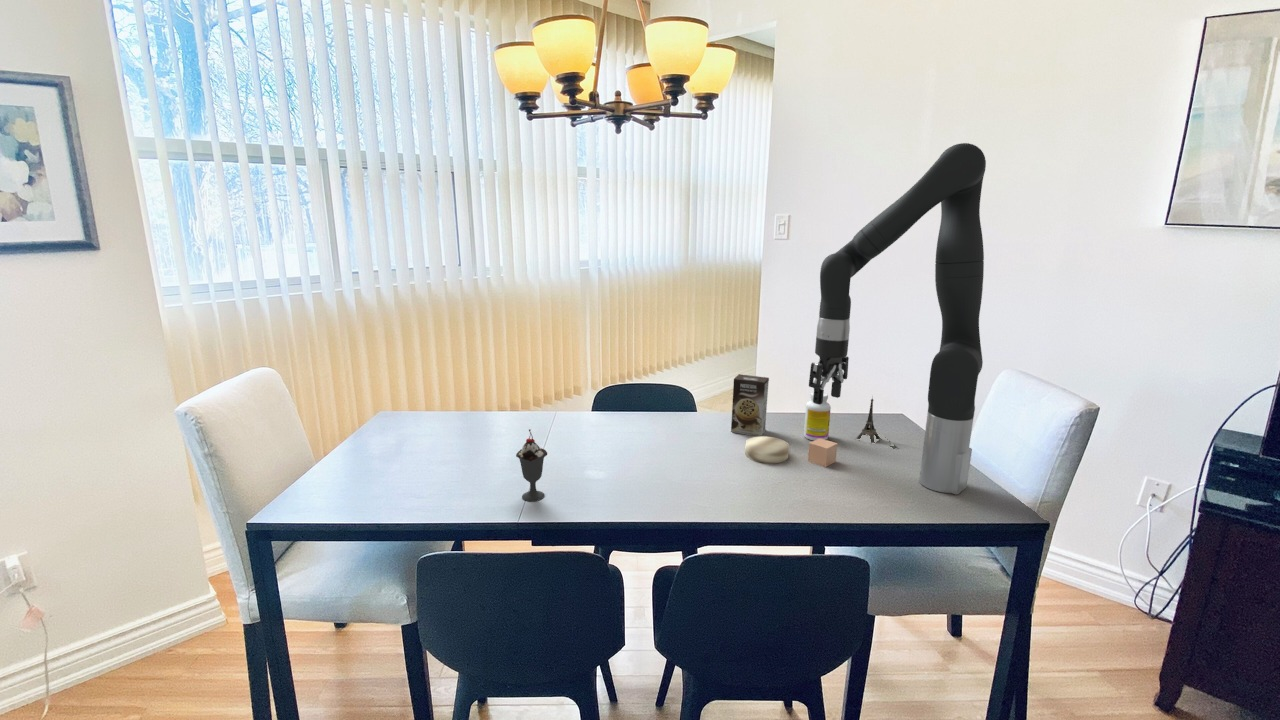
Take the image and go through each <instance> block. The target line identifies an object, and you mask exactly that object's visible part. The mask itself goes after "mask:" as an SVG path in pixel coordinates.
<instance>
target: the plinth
mask: <svg viewBox="0 0 1280 720" xmlns="http://www.w3.org/2000/svg"><path fill="white" fill-rule="evenodd" d="M789 448H790V446H789V443H788V442H787V441H785V440H783V439H781V438H777V437H773V436H764V435H762V436H753V437H750V438H748V439H746V441H745V448H744V453H745V454H744V455H745V456H746V458H748V459H749V460H752V461H755V462H758V463H763V464H779V463H783V462H786V461H787V460H788V459H789V451H790V450H789Z"/></svg>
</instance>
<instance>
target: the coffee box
mask: <svg viewBox="0 0 1280 720" xmlns="http://www.w3.org/2000/svg"><path fill="white" fill-rule="evenodd" d="M769 381H770V377H765V376H758V375H750V374H748V375H747V374H738V375H736V376H735V377H734V378H733V385H732V387H733V388H732V389H733V390H732V391H733V392H732V406H731V407H732V408H731V427H730V432H731V433H734V434H735V433H736V434H743V435H748V436H753V437H762V436H764V435H763V434H764V433H765V431H766V425H767V424H766V421H767V409H768V408H767V407H768V397H769V396H768V394H769V393H768V392H769Z"/></svg>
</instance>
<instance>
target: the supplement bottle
mask: <svg viewBox="0 0 1280 720" xmlns="http://www.w3.org/2000/svg"><path fill="white" fill-rule="evenodd" d="M809 395H810V396H809V398H810V400H809V401H807V402H806V404H805V413H804V426H803V428H804V429H803V436H804V437H805V438H806V439H807V440H811V441H815V440H817V439H819V438H821V439H824V440H828V438H829V433H830V421H831V420H830V419H831V409H832V407H831V405H830V403H828V402H827V401H828V399H829V394H828V393H826V392H824V393H823V403H822V404H820V405H819V404H815V403H814V402H813V396H814V391H812V392H810V394H809Z"/></svg>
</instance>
